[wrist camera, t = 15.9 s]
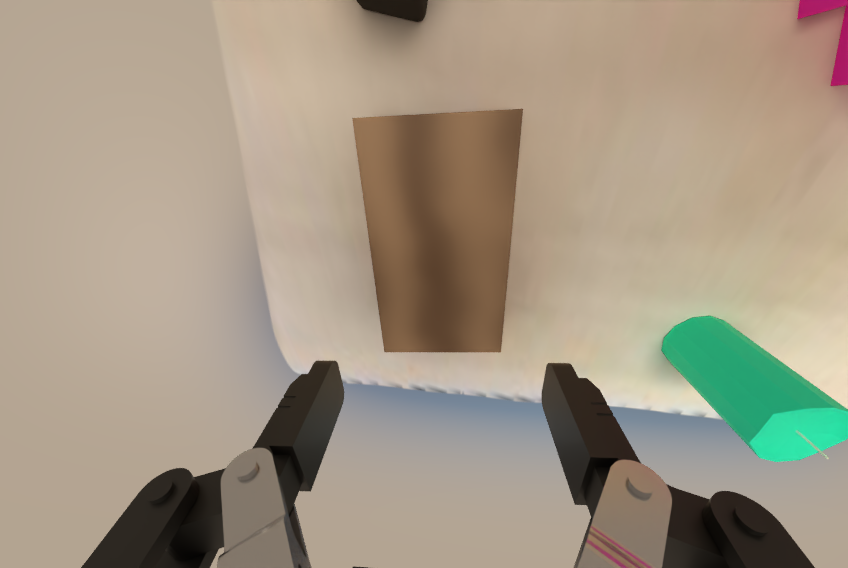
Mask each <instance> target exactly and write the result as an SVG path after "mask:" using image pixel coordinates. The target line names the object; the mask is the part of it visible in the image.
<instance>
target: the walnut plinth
mask: <svg viewBox="0 0 848 568" xmlns="http://www.w3.org/2000/svg"><path fill="white" fill-rule="evenodd" d="M522 113H523V109H513V110H495V111H476V112H458V113H440V114H421V115H403V116H385V117H366V118H352V119H353V126H354V133H355V140H356V148H357V155H358V162H359V169H360V177H361V184H362V191H363V198H364V206H365V213H366V220H367V228H368V235H369V242H370V249H371V257H372V264H373V271H374V278H375V286H376V293H377V300H378V308H379V315H380V322H381V329H382V337H383V344H384V351H385V352H501V344H502V333H503V322H504V311H505V300H506V289H507V278H508V267H509V256H510V245H511V234H512V223H513V212H514V201H515V190H516V179H517V168H518V157H519V146H520V135H521V124H522Z"/></svg>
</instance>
